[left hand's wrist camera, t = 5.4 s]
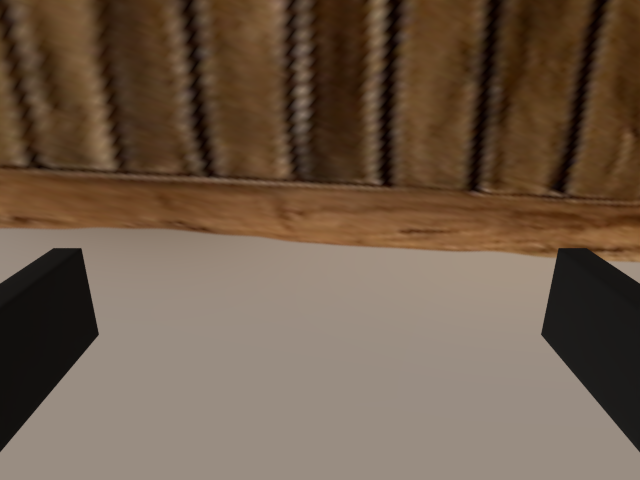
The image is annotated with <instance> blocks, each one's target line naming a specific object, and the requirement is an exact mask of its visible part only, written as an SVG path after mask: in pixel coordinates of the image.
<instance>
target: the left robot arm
mask: <svg viewBox="0 0 640 480" xmlns="http://www.w3.org/2000/svg"><path fill="white" fill-rule="evenodd" d="M98 335H99V333H98V328H97V323H96V318H95V313H94V308H93V303H92V298H91V294H90V289H89V284H88V279H87V274H86V269H85V264H84V259H83V254H82V249H81V248H53V249H52V250H50V251H49V252H47V253H46V254H44V255H43V256H41V257H40V258H38V259H37V260H35V261H34V262H32V263H31V264H29V265H28V266H26V267H25V268H23V269H22V270H20V271H19V272H17V273H16V274H14V275H13V276H11V277H10V278H8V279H7V280H5V281H3V282H2V283H0V452H1V450H2V449H3V448H4V447H5V446H6V445H7V443H8V442H9V441H10V440H11V439H12V437H13V436H14V435H15V434H16V433H17V431H18V430H19V429H20V428H21V427H22V426H23V424H24V423H25V422H26V421H27V420H28V418H29V417H30V416H31V415H32V414H33V412H34V411H35V410H36V409H37V408H38V406H39V405H40V404H41V403H42V402H43V400H44V399H45V398H46V397H47V396H48V395H49V393H50V392H51V391H52V390H53V389H54V387H55V386H56V385H57V384H58V383H59V381H60V380H61V379H62V378H63V377H64V375H65V374H66V373H67V372H68V371H69V370H70V368H71V367H72V366H73V365H74V364H75V362H76V361H77V360H78V359H79V358H80V356H81V355H82V354H83V353H84V352H85V350H86V349H87V348H88V347H89V346H90V345H91V343H92V342H93V341H94V340H95V339H96V337H97V336H98ZM541 335H542V336H543V337H544V339H545V340H546V341H547V342H548V343H549V344H550V346H551V347H552V348H553V349H554V350H555V352H556V353H557V354H558V355H559V356H560V358H561V359H562V360H563V361H564V362H565V364H566V365H567V366H568V367H569V368H570V370H571V371H572V372H573V373H574V374H575V375H576V377H577V378H578V379H579V380H580V381H581V383H582V384H583V385H584V386H585V387H586V389H587V390H588V391H589V392H590V393H591V395H592V396H593V397H594V398H595V399H596V401H597V402H598V403H599V404H600V405H601V406H602V408H603V409H604V410H605V411H606V412H607V414H608V415H609V416H610V417H611V418H612V420H613V421H614V422H615V423H616V424H617V426H618V427H619V428H620V429H621V430H622V431H623V433H624V434H625V435H626V436H627V437H628V439H629V440H630V441H631V442H632V443H633V445H634V446H635V447H636V448H637V449H638V451H639V452H640V283H638V282H637V281H635V280H633V279H632V278H630V277H629V276H627V275H626V274H624V273H623V272H621V271H620V270H618V269H617V268H615V267H614V266H612V265H611V264H609V263H608V262H606V261H605V260H603V259H602V258H600V257H599V256H597V255H596V254H594V253H593V252H591V251H590V250H588V249H587V248H559V249H558V254H557V259H556V264H555V269H554V274H553V279H552V284H551V289H550V294H549V298H548V303H547V308H546V313H545V318H544V323H543V328H542V333H541Z"/></svg>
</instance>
